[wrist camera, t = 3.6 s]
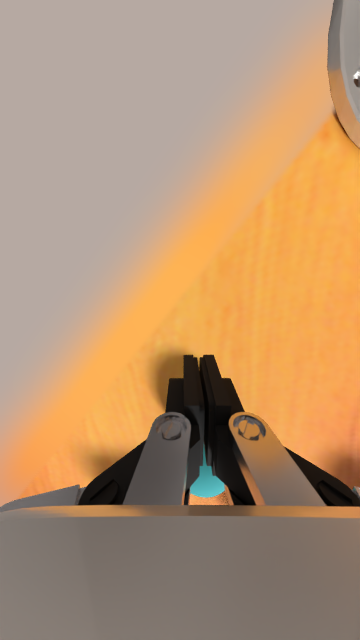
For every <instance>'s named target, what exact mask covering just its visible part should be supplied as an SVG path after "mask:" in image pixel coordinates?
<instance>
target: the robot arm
mask: <svg viewBox="0 0 360 640" xmlns="http://www.w3.org/2000/svg"><path fill="white" fill-rule="evenodd" d="M327 67H328V75H329V83H330V91H331V97H332V100H333V103H334V106H335V109H336V112H337V115H338V118H339V121H340V122H341V124H342V126H343V127H344V129H345V131H346V132H347V134H348V136H349V138H350V139H351V140H352V141H353V142H354V143H355V144H356V145H357V146H358V147H359V148H360V0H334V3H333V10H332V16H331V22H330V28H329V34H328V66H327ZM203 448H204V449H205V457H206V465H207V466H211V468H212V475H213V476H216V477H217V478H219V479H220V480H221V481H222V482H223V483H224V489H225V493H226V497H227V500H228V503H229V505H189V503H190V493H191V486H192V484H193V483H194V482H195V481H196V480H197V479H198V477H199V475H200V466H203ZM0 640H360V487H356V486H354V488H353V490H351V489H350V488H349V487H348V486H347V485H345V484H344V483H342V482H341V481H340V480H338V479H337V478H335V477H333V476H332V475H330V474H328V473H327V472H325V471H324V470H322V469H320V468H319V467H317V466H315V465H314V464H312V463H310V462H309V461H307V460H305V459H304V458H302V457H301V456H299V455H297V454H296V453H294V452H292V451H291V450H289V449H287V448H286V447H284V446H283V445H282V444H281V442H280V441H279V440H278V438H277V437H276V435H275V434H274V433H273V431H272V430H271V429H270V427H269V426H268V424H267V423H266V422H265V421H264V420H263V419H261V418H260V417H259V416H257V415H254V414H252V413H248V412H245V411H244V409H243V407H242V404H241V402H240V400H239V397H238V395H237V393H236V390H235V388H234V386H233V383H232V381H231V379H230V378H222V377H221V375H220V372H219V369H218V366H217V363H216V360H215V358H214V355H203V357H200V366H199V367H198V361H197V357H193V355H184V378H170V379H169V386H168V395H167V404H166V412H165V413H164V414H162V415H160V416H159V417H157V418H156V419H155V421H154V422H153V424H152V427H151V430H150V432H149V435H148V438H147V439H146V440H145V441H144V442H142V443H141V444H140V445H138V446H137V447H136V448H134V449H133V450H132V451H130V452H129V453H128V454H127V455H125V456H124V457H123V458H121V459H120V460H119V461H117V462H116V463H115V464H113V465H112V466H111V467H109V468H108V469H107V470H105V471H104V472H103V473H101V474H100V475H99V476H97V477H96V478H95V479H94V480H93V481H92V482H91V483H90V484H88V486H87V487H84V488H80V485H75V486H71V487H67V488H63V489H59V490H55V491H51V492H47V493H43V494H39V495H34V496H30V497H26V498H22V499H18V500H14V501H12V502H9V503H7V504H5V505H3V506H2V507H0Z"/></svg>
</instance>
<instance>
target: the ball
mask: <svg viewBox="0 0 360 640" xmlns="http://www.w3.org/2000/svg"><path fill="white" fill-rule="evenodd" d="M224 491H225V489H224V483H223V482H222V481H221V480H220V479H219V478H217V477H216V476H213V475H212V468H211V466H207V465H206V457H205V449H204V448H203V466H200V475H199V477H198V479H197V480H196V481H195V482H194V483H193V484H192V486H191V494H193V495H196V496H199V497H213V496H216V495H219V494H220V493H222V492H224Z"/></svg>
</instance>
